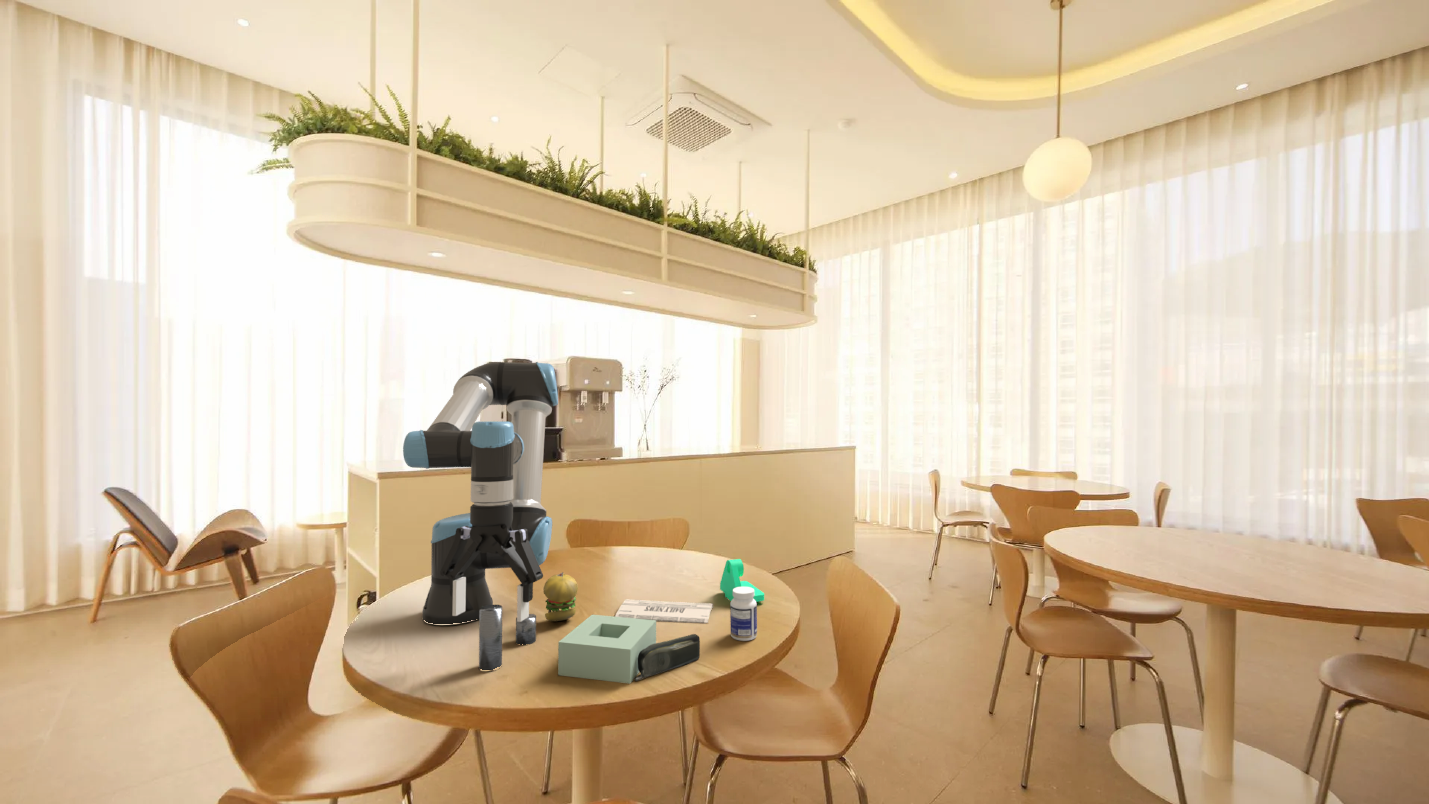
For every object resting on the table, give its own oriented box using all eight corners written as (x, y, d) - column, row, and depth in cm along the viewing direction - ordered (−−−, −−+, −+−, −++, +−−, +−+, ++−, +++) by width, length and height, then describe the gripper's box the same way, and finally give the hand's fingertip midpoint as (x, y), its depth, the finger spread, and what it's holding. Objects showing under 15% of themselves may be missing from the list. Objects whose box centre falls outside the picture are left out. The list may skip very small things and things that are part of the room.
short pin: (511, 644, 114) (512, 619, 114) (522, 636, 118) (522, 613, 118) (529, 646, 113) (529, 621, 113) (539, 638, 117) (539, 614, 117)
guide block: (558, 675, 101) (558, 641, 101) (591, 643, 115) (592, 614, 115) (630, 683, 98) (630, 649, 98) (656, 650, 111) (656, 620, 112)
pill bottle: (742, 628, 123) (743, 583, 123) (762, 636, 119) (762, 589, 119) (724, 636, 119) (724, 589, 119) (744, 644, 115) (744, 596, 115)
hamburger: (573, 614, 131) (574, 563, 131) (581, 624, 125) (581, 571, 125) (540, 620, 127) (540, 567, 128) (546, 631, 121) (546, 576, 121)
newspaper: (713, 607, 138) (713, 597, 138) (707, 631, 126) (707, 621, 126) (625, 602, 140) (625, 593, 140) (611, 626, 128) (610, 615, 128)
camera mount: (765, 604, 138) (765, 563, 139) (737, 608, 136) (737, 566, 136) (746, 590, 150) (746, 552, 150) (720, 593, 147) (720, 554, 147)
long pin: (474, 670, 103) (474, 611, 103) (487, 661, 106) (488, 603, 107) (493, 673, 102) (493, 612, 102) (506, 663, 106) (506, 605, 106)
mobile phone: (693, 630, 110) (629, 649, 100) (703, 635, 108) (638, 655, 98) (693, 655, 110) (628, 677, 100) (702, 661, 108) (638, 683, 98)
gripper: (420, 503, 104) (418, 617, 103) (541, 508, 98) (539, 629, 97) (448, 497, 111) (446, 604, 110) (561, 501, 105) (560, 614, 105)
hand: (490, 616), depth 104 cm, fingers open, 13 cm apart
